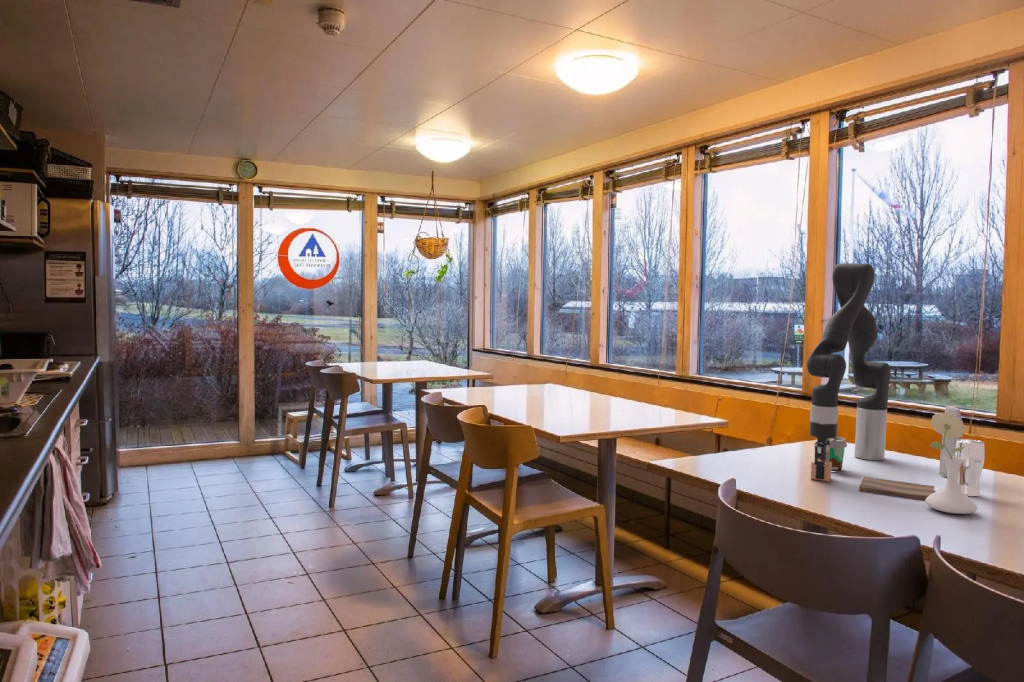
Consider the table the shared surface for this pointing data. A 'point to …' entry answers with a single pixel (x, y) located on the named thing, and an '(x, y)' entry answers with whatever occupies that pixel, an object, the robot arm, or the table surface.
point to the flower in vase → (950, 469)
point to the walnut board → (896, 488)
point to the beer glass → (970, 465)
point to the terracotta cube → (826, 470)
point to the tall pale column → (948, 441)
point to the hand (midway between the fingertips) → (821, 476)
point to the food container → (837, 452)
